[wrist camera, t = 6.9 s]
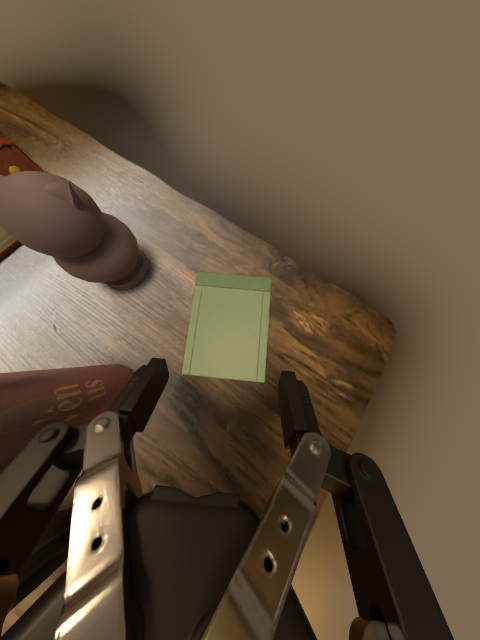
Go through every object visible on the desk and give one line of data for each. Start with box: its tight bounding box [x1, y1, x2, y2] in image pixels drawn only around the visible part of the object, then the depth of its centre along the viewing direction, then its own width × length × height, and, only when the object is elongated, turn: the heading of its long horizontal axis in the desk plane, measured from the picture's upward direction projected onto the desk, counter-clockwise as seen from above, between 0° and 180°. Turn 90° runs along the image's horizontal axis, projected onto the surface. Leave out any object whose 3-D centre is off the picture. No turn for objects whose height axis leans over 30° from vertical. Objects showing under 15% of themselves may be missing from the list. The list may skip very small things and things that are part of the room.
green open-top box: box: [181, 272, 271, 383], centre depth 17 cm, size 8×6×9 cm
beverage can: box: [0, 364, 133, 473], centre depth 13 cm, size 6×6×15 cm
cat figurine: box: [0, 171, 149, 290], centre depth 18 cm, size 8×8×12 cm
